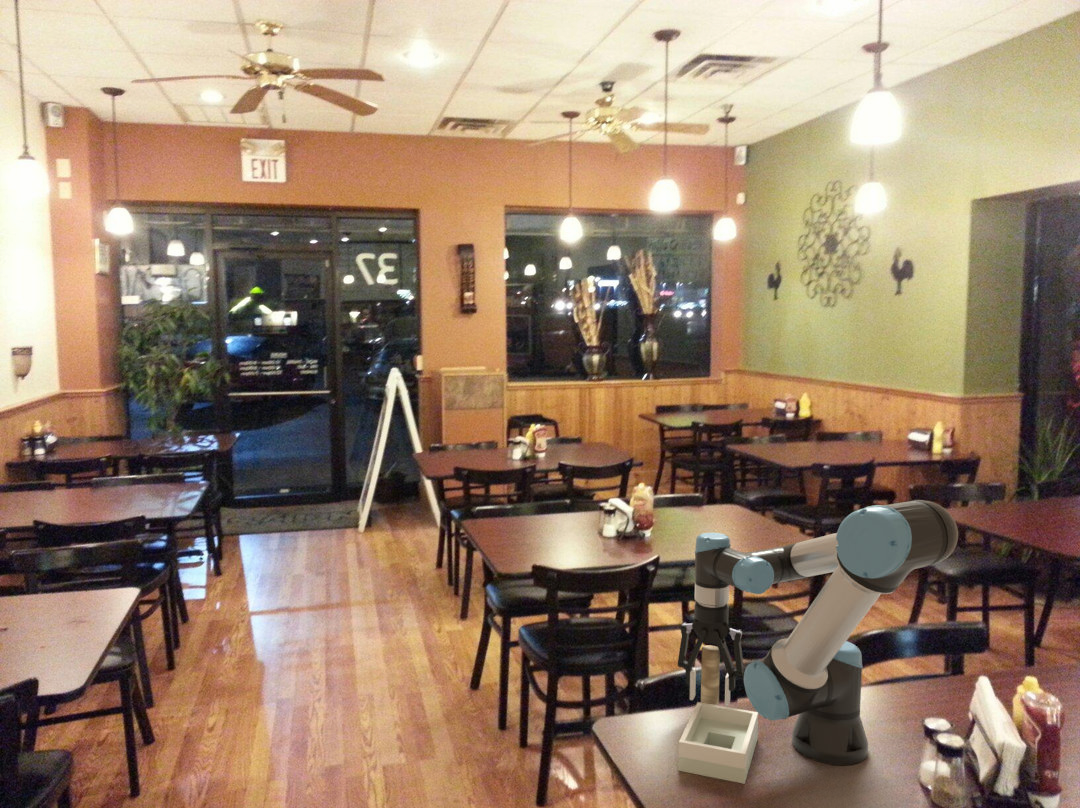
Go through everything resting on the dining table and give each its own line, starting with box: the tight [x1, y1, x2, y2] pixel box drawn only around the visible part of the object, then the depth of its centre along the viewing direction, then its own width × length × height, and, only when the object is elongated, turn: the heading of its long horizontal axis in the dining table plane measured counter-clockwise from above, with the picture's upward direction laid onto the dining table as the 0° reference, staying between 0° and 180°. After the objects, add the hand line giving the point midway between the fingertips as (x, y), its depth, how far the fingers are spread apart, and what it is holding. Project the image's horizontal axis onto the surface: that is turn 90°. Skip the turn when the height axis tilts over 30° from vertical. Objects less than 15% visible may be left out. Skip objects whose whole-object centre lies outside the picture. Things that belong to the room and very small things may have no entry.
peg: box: [700, 644, 721, 706], centre depth 187 cm, size 4×4×16 cm
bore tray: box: [678, 701, 759, 785], centre depth 171 cm, size 13×19×6 cm
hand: (709, 700), depth 188 cm, fingers open, 7 cm apart
